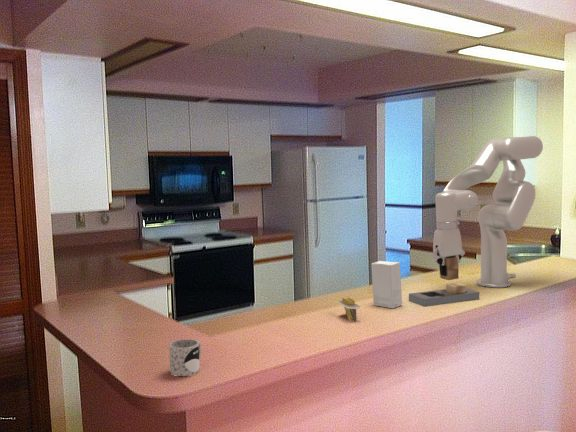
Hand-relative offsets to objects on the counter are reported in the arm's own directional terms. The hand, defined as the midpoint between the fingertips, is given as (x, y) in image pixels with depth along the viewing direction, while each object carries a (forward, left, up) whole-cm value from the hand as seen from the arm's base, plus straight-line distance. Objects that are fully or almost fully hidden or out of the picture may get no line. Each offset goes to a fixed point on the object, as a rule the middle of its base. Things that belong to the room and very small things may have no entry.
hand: (449, 273), depth 196 cm
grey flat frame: (+9, +9, -7) cm, 15 cm away
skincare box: (+31, +7, -7) cm, 33 cm away
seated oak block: (+4, +9, -7) cm, 12 cm away
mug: (+104, +38, -7) cm, 111 cm away
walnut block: (0, 0, -2) cm, 2 cm away
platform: (+50, +15, -8) cm, 53 cm away
